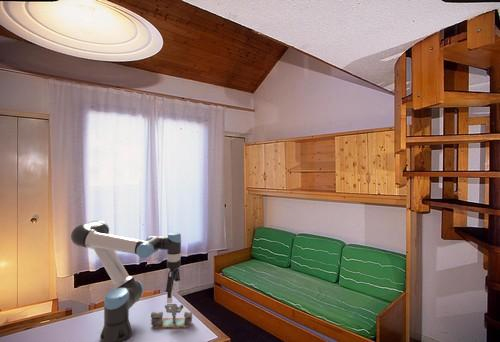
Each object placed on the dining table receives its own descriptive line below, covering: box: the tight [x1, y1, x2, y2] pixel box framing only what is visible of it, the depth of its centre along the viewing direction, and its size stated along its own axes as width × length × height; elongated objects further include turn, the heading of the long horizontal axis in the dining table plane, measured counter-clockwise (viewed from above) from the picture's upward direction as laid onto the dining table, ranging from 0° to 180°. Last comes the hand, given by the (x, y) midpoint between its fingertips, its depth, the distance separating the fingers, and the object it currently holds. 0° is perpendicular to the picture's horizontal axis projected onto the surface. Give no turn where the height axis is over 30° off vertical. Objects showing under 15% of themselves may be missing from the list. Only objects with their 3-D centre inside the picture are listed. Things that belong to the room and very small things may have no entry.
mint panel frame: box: [150, 311, 193, 329], centre depth 154 cm, size 23×9×7 cm, turn 91°
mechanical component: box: [164, 303, 184, 323], centre depth 153 cm, size 3×10×10 cm, turn 89°
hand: (173, 297), depth 153 cm, fingers open, 13 cm apart
